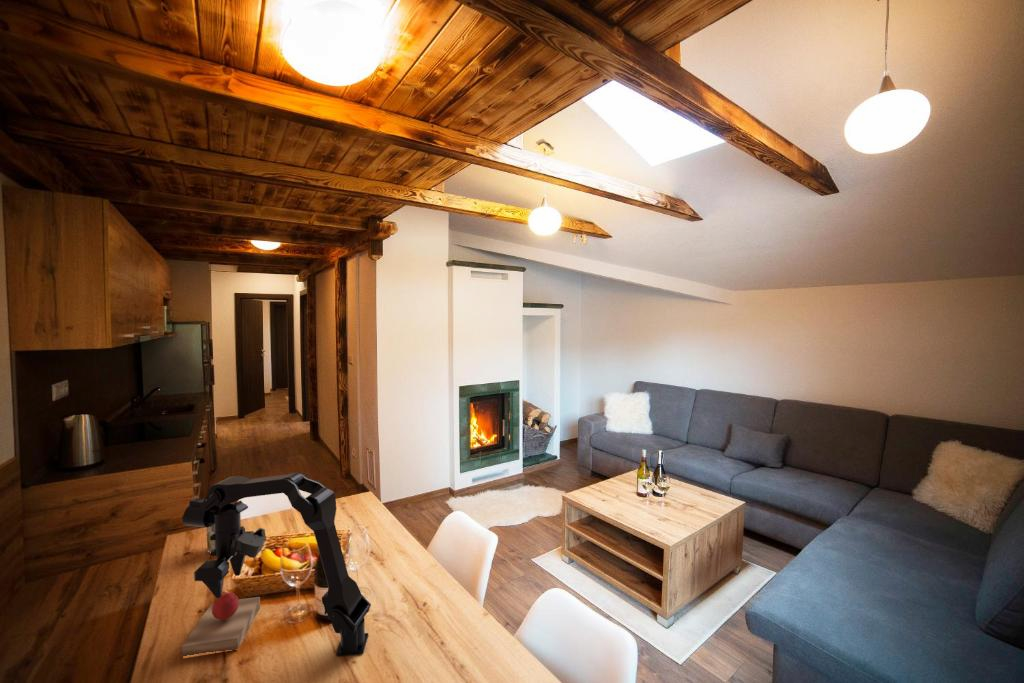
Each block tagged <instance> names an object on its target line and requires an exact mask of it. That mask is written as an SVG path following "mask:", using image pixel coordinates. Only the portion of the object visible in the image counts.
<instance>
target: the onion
mask: <svg viewBox="0 0 1024 683" xmlns="http://www.w3.org/2000/svg"><path fill="white" fill-rule="evenodd" d="M213 603H214V604H213V606H212V614H213V616H214V617H215V618H217V619H219V620H222V621H225V620H227V619H229V618H230V617H232V616H233V614H234V613H235V612H236V611H237V609H238V605H239V597H238V596H237V595H236V594H235V593H233V592H231V591H227V590H222V595H221V597H220V598H215V600H214V602H213Z"/></svg>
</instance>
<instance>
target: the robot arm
mask: <svg viewBox="0 0 1024 683" xmlns="http://www.w3.org/2000/svg"><path fill="white" fill-rule="evenodd" d="M208 489H209V490H208V494H207V496H205V498H204V499H203V498H200V497H196V498H193V499H190V500H189V502H188V506H187V507H186V508H185V510H184V512H183V515H182V518H181V520H182V523H183V525H184V526H189V527H197V528H198V527H199V528H207V527H210V526H212V525H213V524H214V534H213V535H211V536H210V540H214V550H212V551H211V553H210V557H216V558H217V559H211V560H205V561H204V562H203V563H202V564H201V565H200V566H199V567H198V568H197V569H196V570H195V571H194V572H193V580H194V581H195V582H202V583H203V584H204V585H205V586H206V587H207V589H208V590H210V593H212V595H213V596H214V597H215V599H217V598H220V597H221V595H222V594H223V593H222V592H223V586H224V579H225V578H226V576H227V575H228V574H229V573H230V570H229V569H230V566H231V569H232V572H233V574H234V576H235V577H238V576H240V575H241V573H242V569H243V566H244V563H245V558H246V556H247V557H248V558H252V559H253V558H256V557H257V556H258V554H259V553H260V552H262V549H263V547H264V544H265V542H266V541H267V536H266V530H265V528H262V527H259V528H257V530H256V531H253V530H252V531H251V530H250V531H246V527H245V526H242V525H241V526H240V518H241V513H242V512H243V511H246V510H247V509H248V508H249V506H248V505H247V504H246V503H243V501H242V499H246V498H251V497H252V498H253V497H261V496H269V495H277V494H283V495H285V496H286V497H287V499H288V501H289V503H290V505H291V507H292V508H293V509H295V511H297V512H298V513H300V515H301V518H302V520H303V522H304V524H305V525H306V526H307V527H308V528H309V529H310V530H312V531H313V533H314V537H315V542H316V544H317V548H318V552H319V556H320V560H321V564H322V568H323V571H324V574H325V578H326V583H327V588H328V589H327V591H326V592H325V593H324V595H322V597H321V603H322V605H323V608H324V615H327V617H328V620H329V621H330V622H331V624H332V625H331V626H332V629H333V630H334V633H335V634H339V635H340V642H339V644H338V646H337V651H336V653H335V656H336V657H342V656H352V655H363V654H364V653H365V648H366V646H367V643H368V639H369V633H368V632H366V631H365V624H366V623H365V620H366V619H365V617H366V615H367V613H369V612H370V610H371V605H372V604H371V603H370V602H369V601H368V600H367V598H366V597H365V596H364V595H363V593H362V592H361V590H360V588H359V585H358V583H357V582H356V580H355V579H353V578H352V577H351V576H350V575H349V574H348V573H349V572H348V570H347V565H346V562H345V561H346V560H345V557H344V554H343V550H342V546H341V542H340V540H339V538H340V537H339V536H338V532H337V529H336V528H337V527H336V525H335V519H336V515H337V500H336V494H335V493H334V491H333V490H332V489H329V488H327V487H326V486H324V485H323V484H322V483H321V482H319V481H316V480H313V479H310V478H308V477H306V476H305V475H304V474H302V473H300V472H293V473H289V474H288V473H287V474H281V475H272V476H264V477H256V478H249V477H246V476H242V475H241V476H239V475H232V476H229V477H227V478H225V479H224V480H220V481H219V482H217V483H215V484H212V485H211V486H210V488H208ZM300 491H302V492H304V493H307V494H309V495H308V496H306V497H304V496H303V495H302V494H301V492H300ZM236 501H237V502H236Z"/></svg>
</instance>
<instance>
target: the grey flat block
mask: <svg viewBox="0 0 1024 683" xmlns="http://www.w3.org/2000/svg"><path fill="white" fill-rule="evenodd" d="M238 599H239V598H238ZM213 604H214V602H212V603H210V605H209V606H208V608H207V609H206V611H204V612H205V613H204V614H203V615H202V616H201V617H200V619H199V621H198V622H197V624H196V625H195V626H194V627H193V629H192V631H191V632H190V634H189V635H188V636H187V638H186V639H185V641H184V642H183V643H182V645H181V657H182V656H187V655H194V654H199V653H206V652H214V651H215V652H216V651H225V650H236V649H238V648H239V646H240V645H241V646H242V644H243V642H242V641H244V640H245V638H246V636H247V634H248V632H249V630H250V628H251V627H252V625H253V623H254V621H255V618H257V615H258V613H259V611H260V609H261V597H260V596H256V597H247V598H241V599H239V605H238V609H237V611H236V612H235V613H234V614H233V616H232V617H230V618H229V619H227V620H225V621H222V620H219V619H217V618H215V617H214V616H213V614H212V606H213ZM252 622H253V623H252ZM251 624H252V625H251ZM250 626H251V627H250ZM247 631H248V632H247ZM245 635H246V636H245ZM244 637H245V638H244ZM243 639H244V640H243ZM241 643H242V644H241ZM241 646H240V647H241ZM239 649H240V648H239Z"/></svg>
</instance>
